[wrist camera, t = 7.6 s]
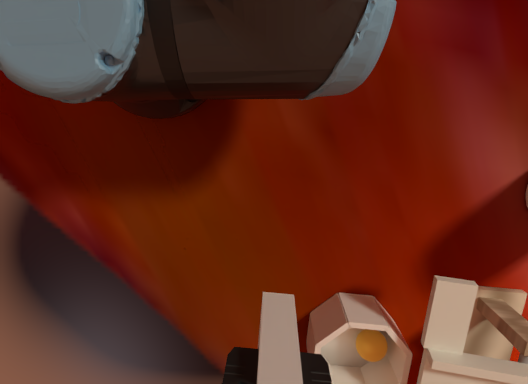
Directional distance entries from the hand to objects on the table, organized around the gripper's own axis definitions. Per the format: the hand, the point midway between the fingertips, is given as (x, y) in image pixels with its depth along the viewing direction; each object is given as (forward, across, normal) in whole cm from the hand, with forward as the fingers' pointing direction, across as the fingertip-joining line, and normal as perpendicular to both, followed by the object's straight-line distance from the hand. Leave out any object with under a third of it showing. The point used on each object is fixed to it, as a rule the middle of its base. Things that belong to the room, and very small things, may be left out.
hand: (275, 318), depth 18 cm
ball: (+27, +14, -19) cm, 36 cm away
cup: (+29, +12, -19) cm, 37 cm away
